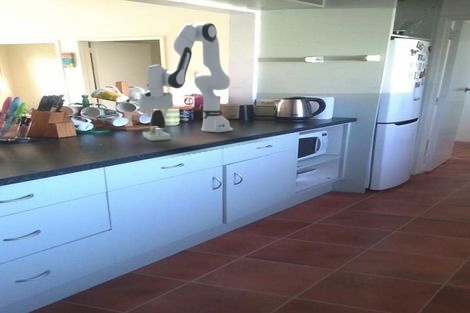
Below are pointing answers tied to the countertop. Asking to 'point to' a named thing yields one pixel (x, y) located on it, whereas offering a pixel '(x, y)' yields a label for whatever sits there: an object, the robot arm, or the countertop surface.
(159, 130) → the metal cylinder
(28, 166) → the countertop surface
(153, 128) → the beech block
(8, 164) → the countertop surface
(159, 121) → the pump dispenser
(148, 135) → the tray
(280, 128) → the countertop surface
